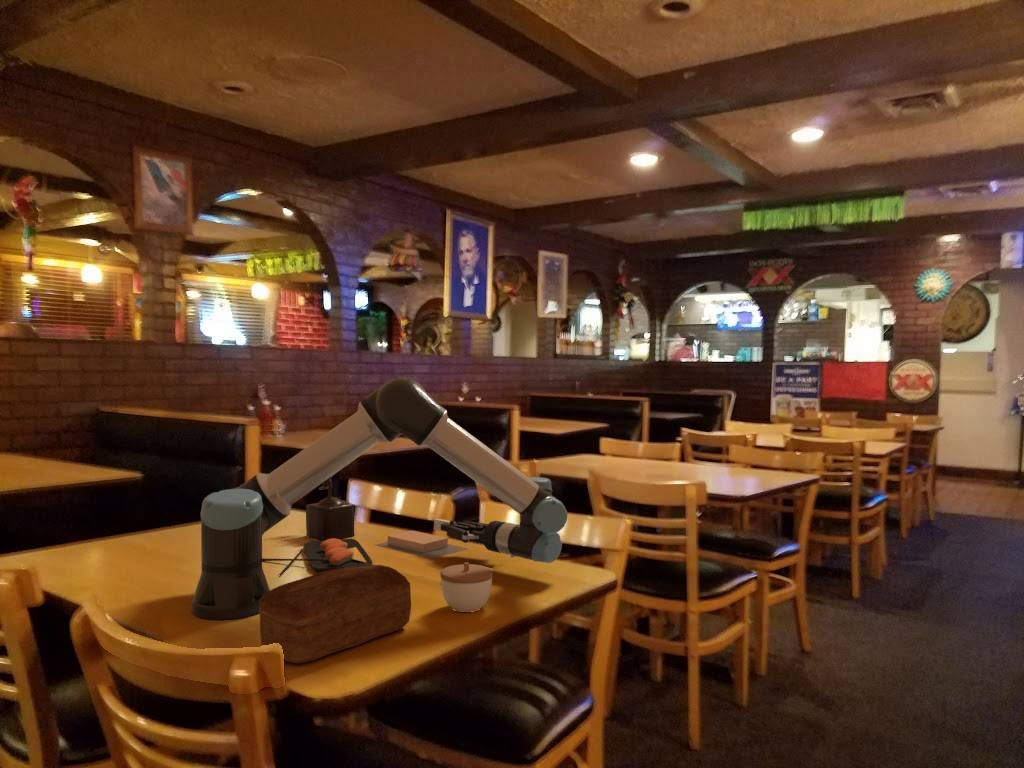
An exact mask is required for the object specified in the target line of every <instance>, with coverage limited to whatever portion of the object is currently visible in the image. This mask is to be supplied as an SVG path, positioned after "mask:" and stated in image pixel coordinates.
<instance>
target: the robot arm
mask: <svg viewBox="0 0 1024 768" xmlns="http://www.w3.org/2000/svg"><path fill="white" fill-rule="evenodd" d="M401 435H402V436H404V437H405V438H407V439H408V440H410V441H412V442H413V443H414V444H416V445H417V446H418V447H428V448H429V449H430V450H432V451H434V452H435V453H436V454H438V455H439V456H440V457H442V458H443V459H444V460H446V461H447V462H449V463H450V464H451V465H452V466H454V467H455V468H457V469H458V470H459V471H460V472H462V473H463V474H465V475H466V476H467V477H469V478H470V479H472V480H473V481H474V482H476V483H477V484H478V485H479V486H481V487H482V488H483V489H485V490H487V492H489V493H490V494H492V495H493V496H494V497H495V498H497V499H499V500H500V501H502V502H503V503H504V504H506V505H507V506H508V507H510V508H511V509H512V510H513V511H515V512H516V513H518V514H519V524H517V523H512V522H505V521H500V520H492V521H490V522H489V523H484V522H483V523H482V522H474V521H468V520H467V521H463V522H461V521H458V522H456V521H454V520H447V519H441V518H434V520H433V530H434V531H439V532H444V533H446V536H448V537H450V538H453V539H456V540H459V541H461V542H463V543H464V544H467V543H469V542H470V541H474V542H476V543H477V544H483V545H484V547H485V549H486V550H488V551H489V552H494V553H498V554H503V555H509V556H510V557H511V559H512V558H515V557H517V558H522V559H526V560H530V561H533V562H537V563H538V562H540V563H546V564H548V563H550V564H551V563H553V562H555V561H556V560H557V559H558V557H559V556H560V554H561V551H562V547H563V542H562V540H561V536H560V533H558V532H560V531H561V530H562V529H563V528H564V527H565V526H566V524H567V521H568V510H567V509H566V506H565V504H564V503H563V502H562V501H561V500H559V499H558V498H556V497H555V496H553V494H552V493H553V489H552V487H553V486H552V481H551V479H549V478H548V477H541V476H540V477H539V476H537V477H536V476H533V477H532V476H531V477H530V476H529V477H528V476H527V475H526V474H524V473H523V472H522V471H520V470H519V469H517V468H516V467H515V466H513V464H511V463H509V462H508V461H507V460H505V459H504V457H501V456H500V455H499V454H497V453H496V452H495V451H494V450H492V449H491V448H490V447H488V446H487V445H486V444H484V443H483V442H482V441H480V440H479V439H477V437H475V436H473V435H472V434H471V433H469V432H468V431H467V430H466V429H465V428H463V427H462V426H461V425H459V424H457V423H456V422H455V421H454V420H452V419H451V418H449V416H448V410H447V409H445V408H444V407H443V406H442V405H440V404H439V403H438V402H437V401H435V399H433V397H432V396H431V395H430V394H429V393H428V392H427V391H426V390H425V388H424V387H423V386H422V385H421V384H420V383H419V382H418V381H417V380H415V379H413V378H411V377H407V376H397V377H393V378H390V379H388V380H386V381H385V382H384V383H383V384H382V385H381V386H380V387H378V388H376V389H375V390H374V391H373V392H371V393H370V394H368V395H367V396H366V397H364V398H363V399H361V400H360V401H359V403H358V407H357V411H356V412H355V413H353V414H352V415H350V416H349V417H348V418H346V419H344V420H343V421H342V422H340V423H339V424H338V425H336V426H335V427H333V428H332V429H330V430H329V431H328V432H326V433H325V434H324V435H322V436H321V437H320V438H318V439H316V440H315V441H314V442H312V443H311V444H309V445H307V446H306V447H305V448H303V449H302V450H301V451H299V452H298V453H297V454H295V455H294V456H292V457H291V458H289V459H288V460H286V461H285V462H283V464H281V465H279V466H278V467H276V468H275V469H274V470H272V471H271V472H270V473H262V472H258V473H256V474H255V475H254V476H252V477H251V478H250V479H248V480H246V481H245V482H243V483H242V484H240V486H237V487H235V488H231V489H230V488H229V489H228V488H227V489H222V490H219V491H218V492H217V491H215V492H211V493H210V494H208V495H206V497H204V499H203V500H202V502H201V510H200V513H199V515H200V520H201V521H200V525H201V526H200V530H201V531H200V532H201V534H200V541H201V553H200V555H201V560H200V561H201V570H200V571H201V573H200V576H199V580H198V582H197V585H196V588H195V590H194V591H195V592H194V594H193V597H192V601H191V613H192V614H193V615H194V616H196V617H198V618H201V619H207V620H231V619H240V618H245V617H250V616H254V615H257V614H260V612H259V601H260V599H261V597H262V596H263V595H264V594H265V593H266V592H268V591H270V590H271V589H270V587H269V584H268V581H267V578H266V575H265V572H264V569H263V561H262V558H263V535H264V534H265V533H266V532H268V531H269V530H270V529H272V528H273V527H274V526H276V525H277V524H279V523H280V522H282V521H283V520H284V519H285V518H287V517H288V516H289V515H291V510H292V506H293V504H295V503H296V502H298V501H299V500H300V499H302V498H303V497H305V496H306V495H307V494H309V493H310V492H312V491H313V490H314V489H316V488H317V487H319V486H320V485H321V484H323V482H324V481H326V480H327V479H328V478H330V477H331V476H332V477H333V476H334V475H335V474H337V473H338V472H339V471H341V470H342V469H343V468H345V467H346V466H348V465H350V464H351V463H352V462H354V461H355V460H356V459H357V458H360V457H361V456H363V454H365V453H366V452H367V451H369V450H370V449H372V448H373V447H374V446H376V445H378V444H379V443H386V444H390V443H392V442H393V441H394V440H396V439H397V438H398V437H400V436H401Z"/></svg>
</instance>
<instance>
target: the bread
mask: <svg viewBox="0 0 1024 768" xmlns="http://www.w3.org/2000/svg"><path fill="white" fill-rule="evenodd" d="M411 597H412V596H411V582H410V581H409V580H408V579H407V576H405V575H403V574H402V573H401V572H399V571H398V570H396V569H394V568H392V567H390V566H386V565H382V564H371V565H368V564H365V565H361V566H350V567H344V568H338V569H332V570H323V571H322V572H319V573H316V574H312V575H309V576H307V577H303V578H300V579H297V580H294V581H290V582H287V583H284V584H281V585H279V586H276V587H274V588H272V589H270V591H268V592H266V593H265V594H264V595H263V596H262V597H261V599H260V601H259V612H260V613H259V630H260V631H259V632H260V642H261V643H260V646H262V645H269V644H273V643H279V644H280V645H281V646H282V649H283V654H284V660H285V662H287V663H290V664H291V663H292V664H303V663H308V662H313V661H315V660H320V658H321V659H322V658H323V657H325V656H328V655H331V654H334V653H336V652H339V651H342V650H345V649H349V648H352V647H356V646H359V645H361V644H363V643H366V642H367V641H370V640H373V639H375V638H378V637H380V636H385V635H387V634H390V633H391V634H392V633H394V632H396V631H399V630H401V629H402V628H403V627H405V626H406V625H407V624H408V623H409V621H410V617H411V611H412V599H411ZM284 660H283V661H284Z"/></svg>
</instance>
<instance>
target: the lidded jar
mask: <svg viewBox="0 0 1024 768" xmlns="http://www.w3.org/2000/svg"><path fill="white" fill-rule="evenodd" d="M463 563H464V564H463ZM463 563H462V564H453V565H449V566H447V567H444V568H442V569H441V570H440V573H439V574H440V586H441V588H440V589H441V593H442V597H443V599H444V601H445V602H446V604H447V605H448V606H449V607H451V608H450V609H451V610H452V609H454V610H456V611H460V612H471V611H476V610H478V609H480V608H481V609H482V607H483V606H484V605H485V604H486V603H487V602H488V600H489V598H490V597H491V596H490V595H491V591H492V587H493V585H492V583H493V570H492V568H490V567H489V566H484V565H480V564H472V563H469V562H463ZM481 609H480V610H481Z"/></svg>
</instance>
